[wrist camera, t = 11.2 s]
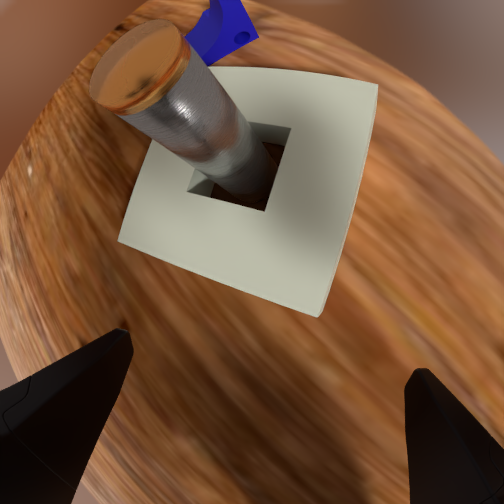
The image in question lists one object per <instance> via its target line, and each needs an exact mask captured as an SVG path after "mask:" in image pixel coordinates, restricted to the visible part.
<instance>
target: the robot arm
mask: <svg viewBox="0 0 504 504" xmlns="http://www.w3.org/2000/svg"><path fill="white" fill-rule="evenodd" d="M133 352H134V349H133V345H132V341H131V337H130V333H129V332H128V331H127V330H123V329H120V328H116V329H114V330H112V331H110V332H108V333H107V334H105V335H103V336H101V337H99V338H98V339H96V340H94V341H92V342H90V343H89V344H87V345H85V346H83V347H81V348H80V349H78V350H76V351H74V352H72V353H70V354H69V355H67V356H65V357H63V358H61V359H60V360H58V361H56V362H54V363H52V364H51V365H49V366H47V367H45V368H43V369H42V370H40V371H38V372H36V373H34V374H33V375H32V376H29V377H27V378H25V379H23V380H21V381H20V382H18V383H16V384H14V385H12V386H10V387H8V388H5V389H3V390H1V391H0V504H71V503H72V500H73V498H74V495H75V492H76V489H77V487H78V485H79V482H80V480H81V478H82V475H83V473H84V470H85V468H86V466H87V463H88V461H89V459H90V456H91V454H92V452H93V450H94V447H95V445H96V443H97V441H98V438H99V436H100V434H101V432H102V430H103V427H104V425H105V423H106V421H107V419H108V417H109V415H110V412H111V410H112V408H113V406H114V404H115V402H116V400H117V398H118V395H119V393H120V390H121V388H122V385H123V382H124V379H125V376H126V373H127V371H128V368H129V365H130V362H131V360H132V357H133ZM404 397H405V433H406V444H407V455H408V467H409V485H410V504H504V449H503V448H502V447H501V446H500V445H499V444H498V442H497V441H496V440H495V439H494V438H493V437H492V436H491V435H490V434H489V433H488V431H487V430H486V429H485V428H484V427H483V426H482V425H481V424H480V423H479V422H478V420H477V419H476V418H475V417H474V416H473V415H472V414H471V413H470V412H469V411H468V410H467V409H466V408H465V406H464V405H463V404H462V403H461V402H460V401H459V400H458V399H457V398H456V397H455V396H454V395H453V394H452V393H451V392H450V391H449V390H448V389H447V388H446V387H445V385H444V384H443V383H442V382H441V381H440V380H439V379H438V378H437V377H436V376H435V375H434V374H433V373H432V372H431V371H430V370H429V369H427V368H417V369H415V370H414V372H413V373H412V375H411V377H410V378H409V380H408V382H407V383H406V385H405V389H404Z"/></svg>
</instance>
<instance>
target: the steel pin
mask: <svg viewBox="0 0 504 504" xmlns="http://www.w3.org/2000/svg"><path fill="white" fill-rule="evenodd" d="M89 93H90V96H91V98H92V99H93V100H94V101H96V102H97V103H99V104H100V105H102V106H103V107H105V108H106V109H108V110H110V111H111V112H113V113H114V114H116V115H117V116H119V117H120V118H122V119H123V120H125V121H126V122H128V123H129V124H131V125H132V126H134V127H135V128H137V129H138V130H140V131H141V132H143V133H144V134H146V135H147V136H149V137H150V138H152V139H153V140H155V141H156V142H158V143H159V144H161V145H162V146H164V147H165V148H166V149H168V150H169V151H171V152H172V153H174V154H175V155H177V156H178V157H180V158H181V159H182V160H184V161H185V162H187V163H188V164H190V165H191V166H192V167H194V168H195V169H197V170H198V171H200V172H201V173H202V174H204V175H205V176H207V177H208V178H209V179H211V180H212V181H214V182H215V183H217V184H218V185H219V186H221V187H222V188H223V189H225V190H226V191H228V192H229V193H230V194H232V195H233V196H235V197H236V198H237V199H239V200H241V201H244V202H251V203H252V202H258V201H261V200H263V199H265V198H266V197H268V196H269V195H270V193H271V190H272V187H273V184H274V181H275V178H276V175H277V172H278V167H277V165H276V163H275V161H274V160H273V158H272V157H271V155H270V154H269V152H268V151H267V149H266V148H265V146H264V145H263V143H262V142H261V140H260V139H259V137H258V136H257V134H256V133H255V132H254V130H253V129H252V127H251V126H250V124H249V123H248V121H247V120H246V119H245V117H244V116H243V114H242V113H241V111H240V110H239V109H238V107H237V106H236V104H235V103H234V102H233V100H232V99H231V97H230V96H229V95H228V93H227V92H226V91H225V89H224V88H223V87H222V85H221V84H220V83H219V81H218V80H217V79H216V77H215V76H214V75H213V73H212V72H211V71H210V69H209V68H208V67H207V65H206V64H205V63H204V61H203V60H202V59H201V58H200V56H199V55H198V54H197V52H196V51H195V50H194V49H193V47H192V46H191V45H190V44H189V42H188V41H187V40H186V39H185V37H184V36H183V35H182V34H181V32H180V31H179V30H178V29H177V28H176V26H175V25H174V24H173V23H172V22H171V21H169V20H165V19H157V20H152V21H148V22H145V23H143V24H141V25H138V26H137V27H135V28H133V29H131V30H130V31H128V32H127V33H125V34H124V35H123V36H121V37H120V38H119V39H118V40H117V41H116V42H115V43H114V44H113V45H112V46H111V47H110V48H109V49H108V50H107V51H106V52H105V54H104V55H103V56H102V58H101V59H100V61H99V62H98V64H97V65H96V67H95V69H94V71H93V74H92V76H91V80H90V84H89Z"/></svg>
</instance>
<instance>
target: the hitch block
mask: <svg viewBox="0 0 504 504" xmlns="http://www.w3.org/2000/svg"><path fill="white" fill-rule="evenodd" d="M208 68H209V69H210V71H211V72H212V73H213V75H214V76H215V77H216V79H217V80H218V81H219V83H220V84H221V85H222V87H223V88H224V89H225V91H226V92H227V93H228V95H229V96H230V97H231V99H232V100H233V102H234V103H235V104H236V106H237V107H238V109H239V110H240V111H241V113H242V114H243V116H244V117H245V119H246V120H247V121H248V123H249V124H250V126H251V127H252V129H253V130H254V132H255V133H256V134H257V136H258V137H259V139H260V140H261V142H266V143H272V144H277V145H283V146H286V147H285V150H284V153H283V156H282V159H281V162H280V165H279V168H278V172H277V175H276V178H275V181H274V184H273V187H272V190H271V193H270V197H269V200H268V203H267V206H266V209H265V212H263V211H260V210H256V209H252V208H248V207H245V206H241V205H237V204H233V203H229V202H225V201H221V200H217V199H213V198H210V196H211V193H212V190H213V187H214V184H215V182H214V181H212V180H211V179H209V178H208V177H207V176H205V175H204V174H202V173H201V172H200V171H198V170H197V169H195V168H194V167H192V166H191V165H190V164H188V163H187V162H185V161H184V160H182V159H181V158H180V157H178V156H177V155H175V154H174V153H172V152H171V151H169V150H168V149H166V148H165V147H164V146H162V145H161V144H159V143H158V142H156V141H155V140H153V139H152V142H151V144H150V147H149V149H148V152H147V154H146V157H145V160H144V162H143V165H142V168H141V170H140V173H139V176H138V178H137V181H136V184H135V187H134V190H133V193H132V196H131V199H130V202H129V205H128V208H127V211H126V214H125V217H124V221H123V224H122V227H121V231H120V234H119V237H118V242H120V243H123V244H125V245H128V246H130V247H132V248H135V249H137V250H140V251H142V252H144V253H147V254H149V255H152V256H154V257H157V258H159V259H162V260H164V261H166V262H169V263H171V264H174V265H176V266H179V267H182V268H184V269H187V270H189V271H192V272H194V273H197V274H199V275H202V276H205V277H207V278H210V279H212V280H215V281H218V282H220V283H223V284H225V285H228V286H231V287H233V288H236V289H239V290H242V291H244V292H247V293H250V294H252V295H255V296H258V297H261V298H263V299H266V300H269V301H272V302H274V303H277V304H280V305H283V306H286V307H288V308H291V309H294V310H297V311H300V312H303V313H306V314H309V315H311V316H314V317H318V316H319V315H320V314H321V313H322V311H323V308H324V305H325V302H326V300H327V297H328V294H329V291H330V288H331V284H332V281H333V278H334V275H335V272H336V269H337V266H338V262H339V259H340V256H341V253H342V249H343V246H344V242H345V239H346V235H347V232H348V228H349V225H350V221H351V218H352V214H353V210H354V206H355V203H356V199H357V195H358V191H359V187H360V183H361V179H362V174H363V170H364V166H365V162H366V157H367V153H368V148H369V143H370V139H371V134H372V129H373V124H374V118H375V113H376V106H377V94H378V84H373V83H369V82H364V81H359V80H354V79H349V78H344V77H338V76H332V75H326V74H319V73H312V72H304V71H295V70H285V69H273V68H257V67H208Z"/></svg>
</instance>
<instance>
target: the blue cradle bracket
mask: <svg viewBox="0 0 504 504" xmlns="http://www.w3.org/2000/svg"><path fill="white" fill-rule="evenodd" d="M257 38H259V36H258V34H257V32H256V30H255V28H254V26H253V24H252V22H251V20H250V18H249V16H248V14H247V12H246V10H245V8H244V6H243V5H242V3H241V1H240V0H210V8H209V9H208V10H206V11H204V12H203V13H202V16H201V18H200V20H199V22H198V23H197V24H196V26H195V27H194V28H193V30H192V31H191V32H190V33H189V34H187V35H186V36H185V39H186V40H187V41H188V42H189V44H190V45H191V46H192V47H193V49H194V50H195V51H196V52H197V54H198V55H199V56H200V58H201V59H202V60H203V61H204V63H205V64H206V65H207V67H208V66H209V65H211V64H213V63H214V62H216V61H218V60H219V59H221V58H223V57H224V56H226V55H228V54H229V53H231V52H233V51H235V50H236V49H238V48H240V47H242V46H244V45H245V44H247V43H249V42H251V41H253V40H255V39H257Z"/></svg>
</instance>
